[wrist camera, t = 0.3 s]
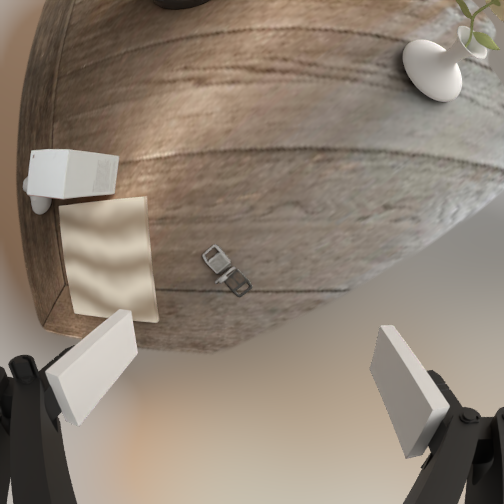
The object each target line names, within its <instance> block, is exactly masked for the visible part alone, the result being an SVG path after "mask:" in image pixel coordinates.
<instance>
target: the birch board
mask: <svg viewBox="0 0 504 504" xmlns="http://www.w3.org/2000/svg"><path fill="white" fill-rule="evenodd" d="M59 216H60V228H61V238H62V246H63V254H64V261H65V267H66V273H67V279H68V284H69V290H70V295H71V300H72V304H73V309H74V313H75V314H82V315H89V316H97V317H105V318H109V317H110V316H112V315H113V314H114V313H115V312H116V311H118V310H119V309H123V310H130V311H131V312H132V320H133V321H143V322H154V323H157V322H158V321H159V314H158V308H157V300H156V293H155V285H154V277H153V268H152V258H151V248H150V236H149V223H148V206H147V196H145V197H134V198H123V199H113V200H104V201H95V202H87V203H79V204H71V205H64V206H59Z"/></svg>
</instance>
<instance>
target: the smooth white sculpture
mask: <svg viewBox="0 0 504 504" xmlns="http://www.w3.org/2000/svg"><path fill="white" fill-rule="evenodd" d="M27 186H28V177H27V178H26V179H25V180H24V182H23V190H24V191H25V192H27ZM29 196H30V198H31V205H32V209H33V211H34V212H35V213H36V214H43V213H45V212H46V211H47V210H48V209H49V207H50V205H51V202H52V198H47V197H39V196H31V195H29Z"/></svg>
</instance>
